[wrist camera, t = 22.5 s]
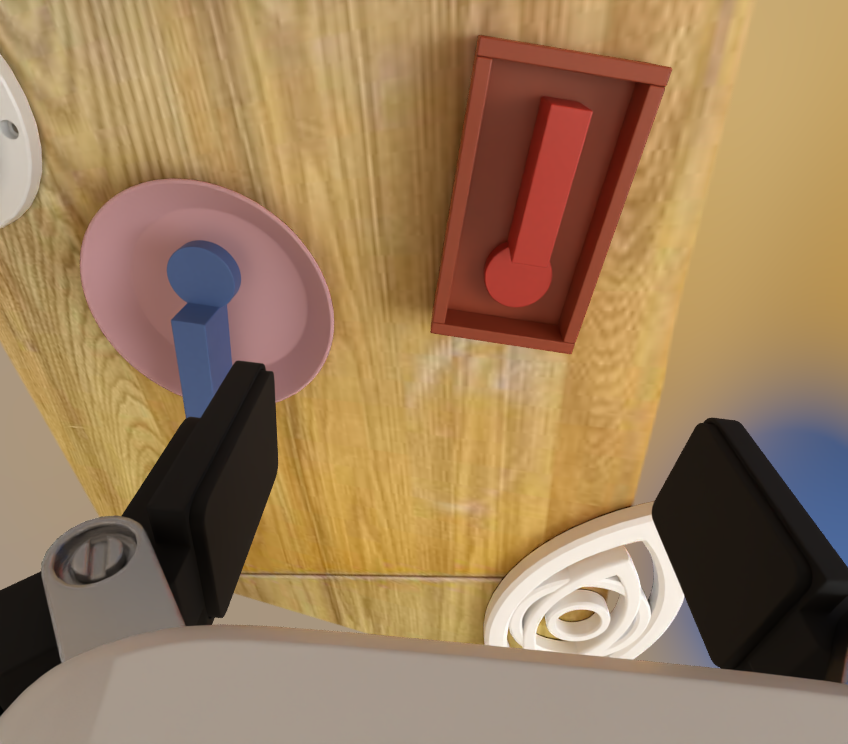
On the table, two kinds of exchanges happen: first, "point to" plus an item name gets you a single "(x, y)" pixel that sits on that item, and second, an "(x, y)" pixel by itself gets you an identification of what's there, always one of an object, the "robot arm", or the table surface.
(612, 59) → the tray
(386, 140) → the table surface
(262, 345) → the plate
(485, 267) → the red spoon
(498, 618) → the decorative sculpture
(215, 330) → the blue spoon
